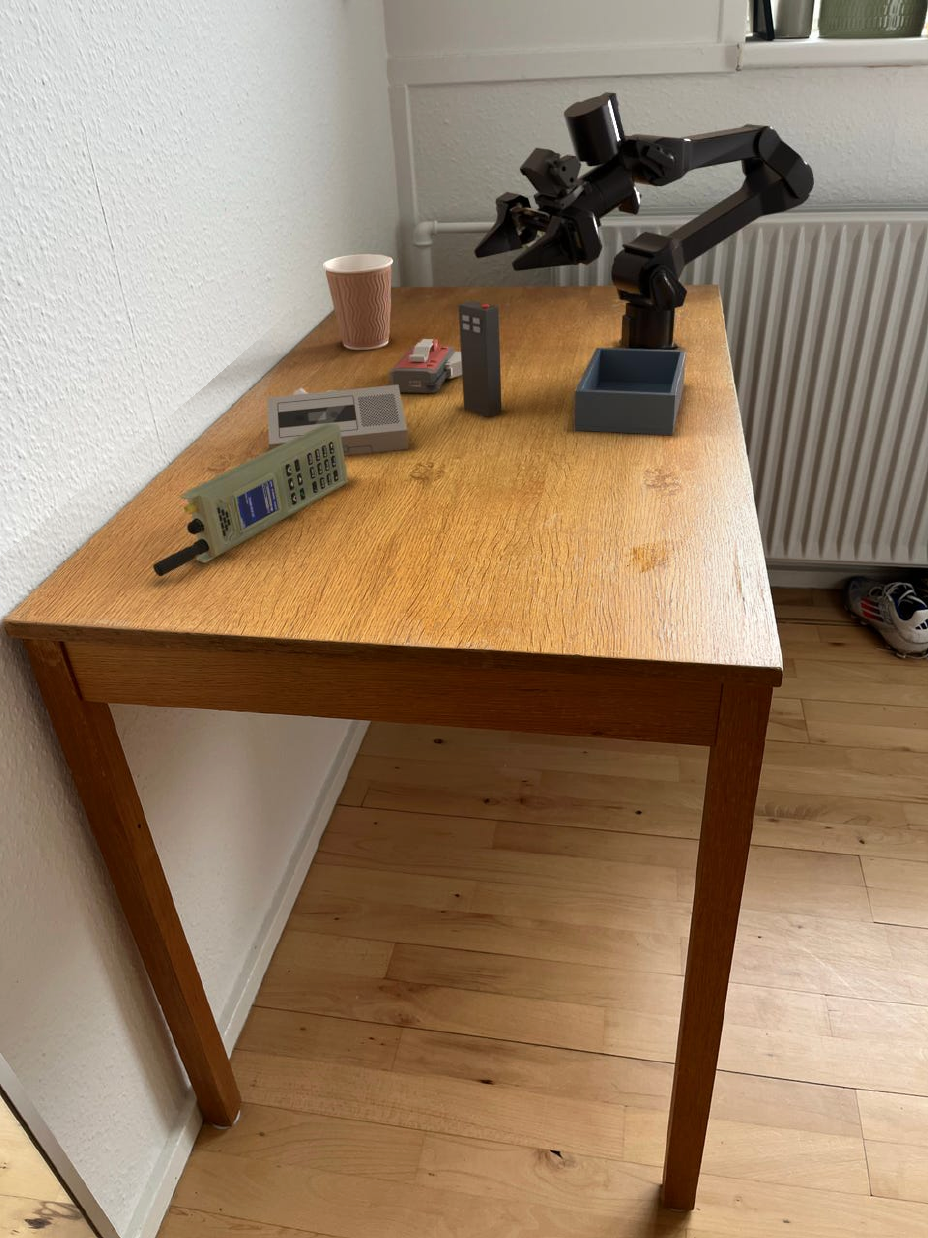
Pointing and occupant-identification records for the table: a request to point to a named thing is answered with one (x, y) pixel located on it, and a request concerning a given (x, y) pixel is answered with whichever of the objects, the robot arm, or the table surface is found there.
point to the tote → (630, 391)
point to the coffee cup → (361, 298)
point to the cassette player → (342, 418)
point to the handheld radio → (260, 494)
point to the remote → (480, 357)
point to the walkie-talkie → (426, 367)
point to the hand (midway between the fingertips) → (494, 260)
